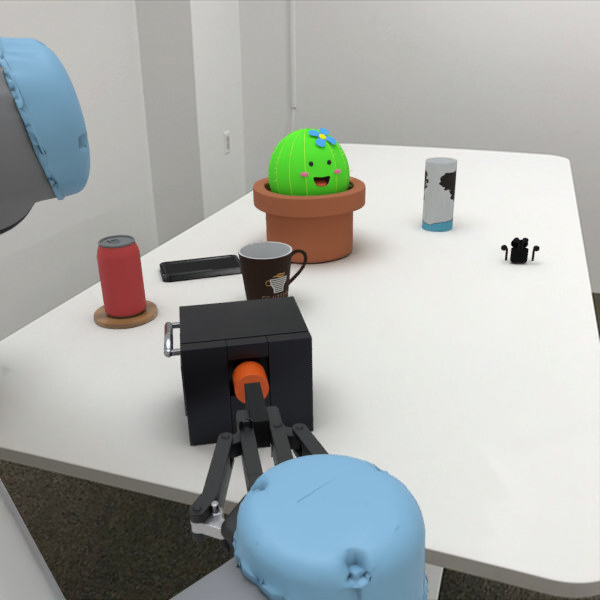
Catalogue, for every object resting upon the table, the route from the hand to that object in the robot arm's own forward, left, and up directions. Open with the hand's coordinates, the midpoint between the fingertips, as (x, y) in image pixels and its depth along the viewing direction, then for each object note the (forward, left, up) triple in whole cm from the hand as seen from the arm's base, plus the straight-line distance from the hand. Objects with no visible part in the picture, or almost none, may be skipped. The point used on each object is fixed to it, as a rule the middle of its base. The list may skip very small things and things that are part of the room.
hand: (252, 395), depth 61 cm
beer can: (-48, +10, -10) cm, 50 cm away
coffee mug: (-34, +30, -11) cm, 46 cm away
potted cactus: (-52, +53, -11) cm, 75 cm away
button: (-6, +4, -5) cm, 9 cm away
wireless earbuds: (-19, +77, -11) cm, 80 cm away
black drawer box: (-12, +8, -11) cm, 18 cm away
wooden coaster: (-48, +10, -11) cm, 50 cm away
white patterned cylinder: (-44, +84, -11) cm, 95 cm away
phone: (-57, +30, -11) cm, 65 cm away
